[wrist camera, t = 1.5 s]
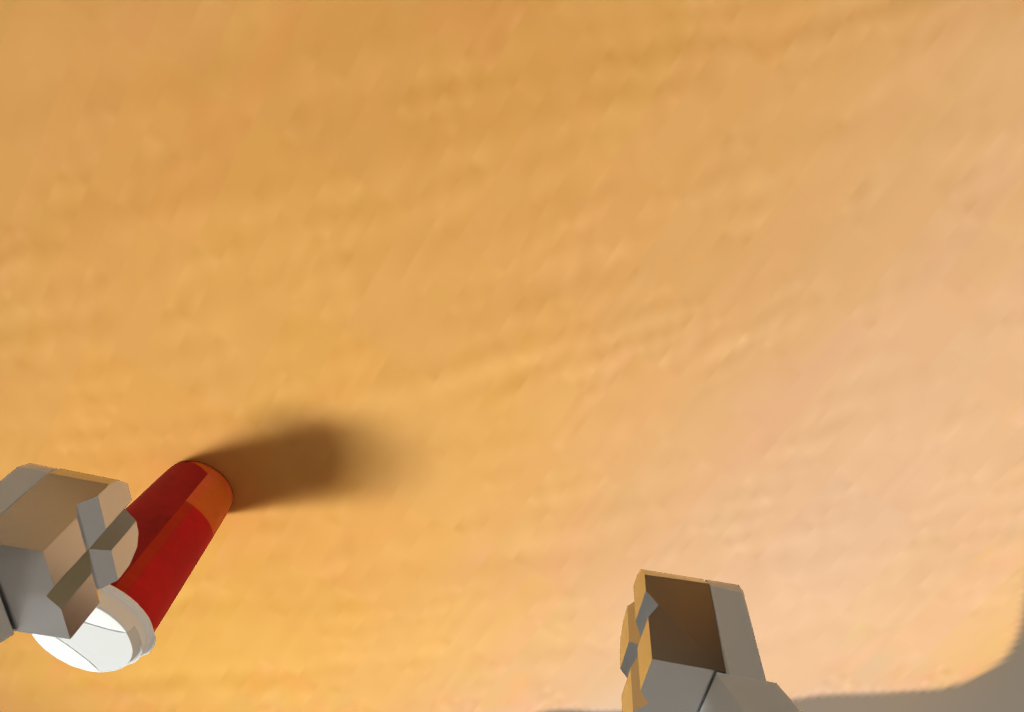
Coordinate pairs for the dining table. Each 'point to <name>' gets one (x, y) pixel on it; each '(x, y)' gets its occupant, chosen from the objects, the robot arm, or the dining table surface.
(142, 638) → the paper cup
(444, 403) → the dining table surface
